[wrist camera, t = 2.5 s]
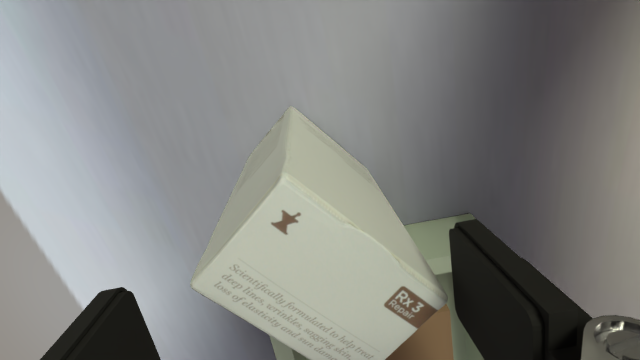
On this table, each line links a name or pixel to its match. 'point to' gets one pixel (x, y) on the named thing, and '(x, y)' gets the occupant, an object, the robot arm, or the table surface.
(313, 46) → the table surface
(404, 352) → the walnut block
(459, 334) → the tote
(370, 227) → the skincare box
